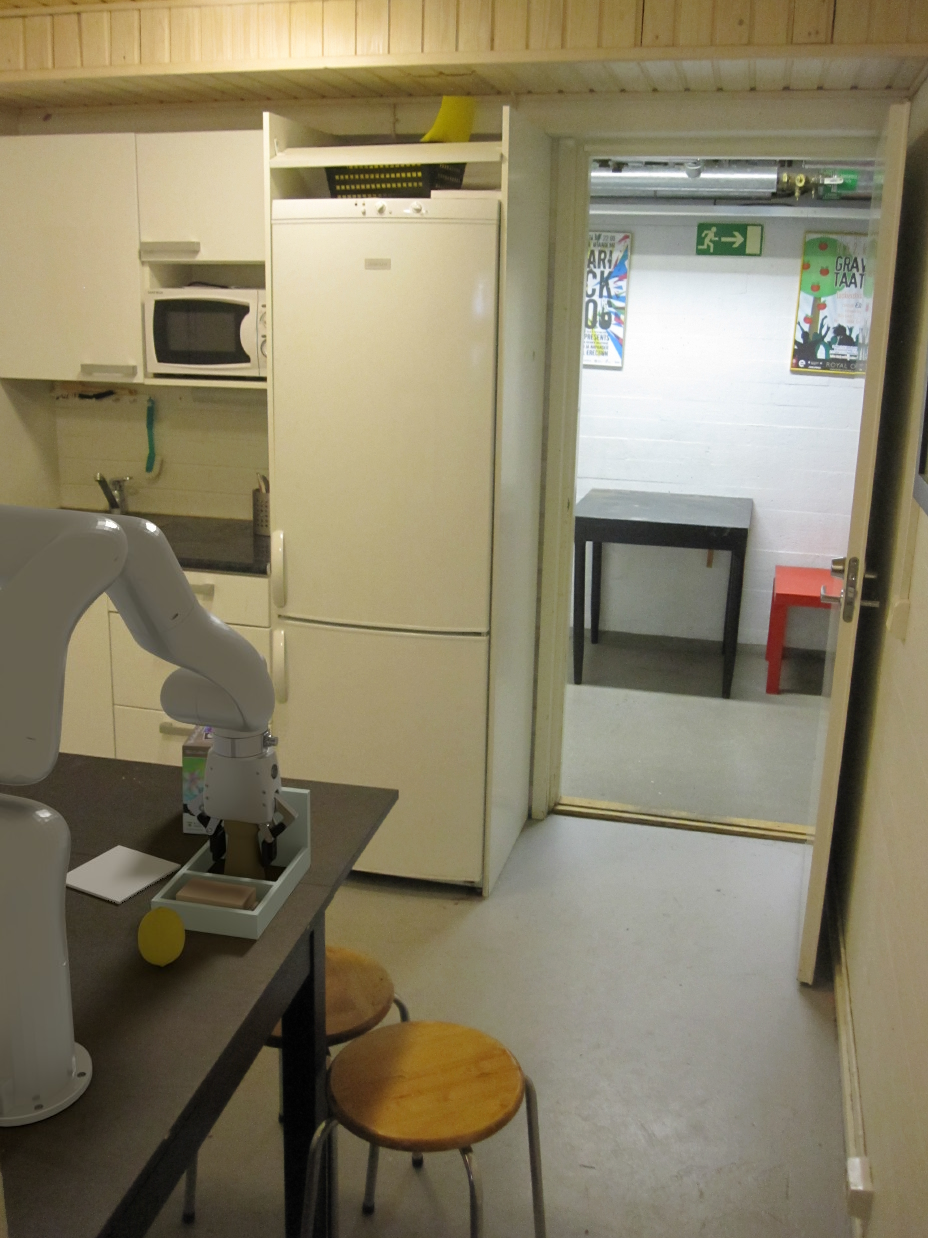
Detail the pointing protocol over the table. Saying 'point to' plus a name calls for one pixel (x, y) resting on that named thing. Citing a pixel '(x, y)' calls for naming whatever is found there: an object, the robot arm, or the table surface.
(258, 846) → the cork
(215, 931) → the rack
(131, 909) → the table surface
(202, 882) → the offcut upper
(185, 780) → the tea box
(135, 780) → the table surface
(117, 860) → the mat
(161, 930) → the lemon
